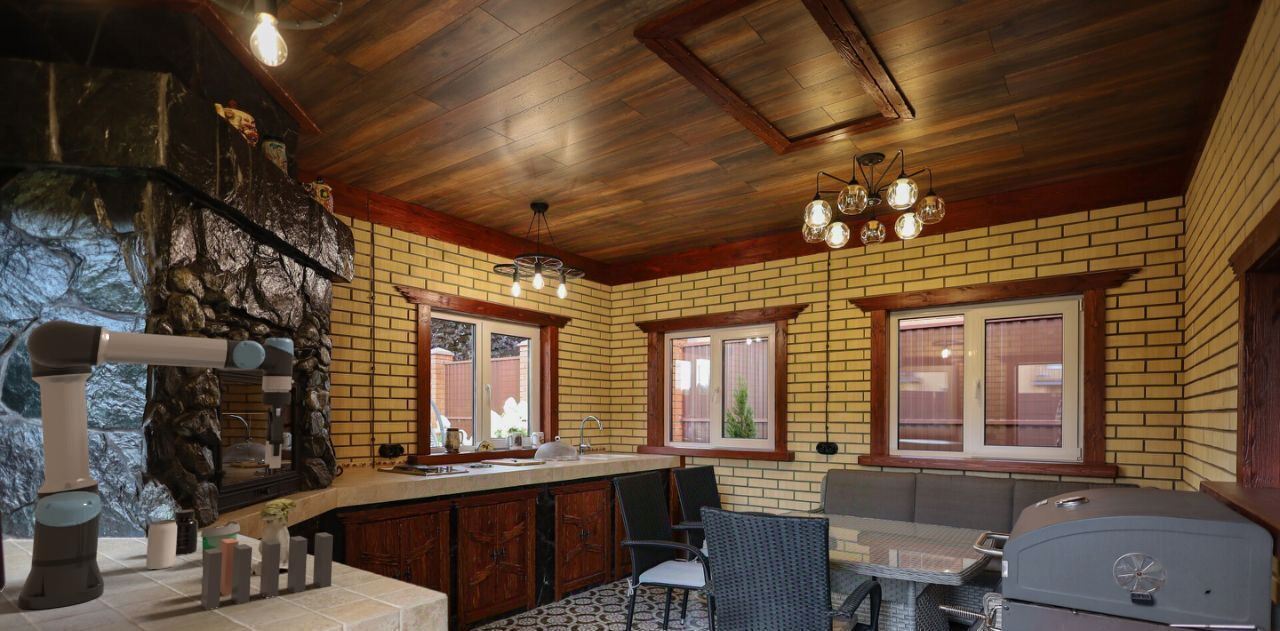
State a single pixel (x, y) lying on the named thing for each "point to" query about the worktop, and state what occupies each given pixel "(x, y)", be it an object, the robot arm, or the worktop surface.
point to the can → (161, 544)
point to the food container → (218, 535)
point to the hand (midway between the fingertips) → (272, 465)
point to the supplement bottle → (186, 531)
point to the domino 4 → (270, 568)
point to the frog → (276, 529)
